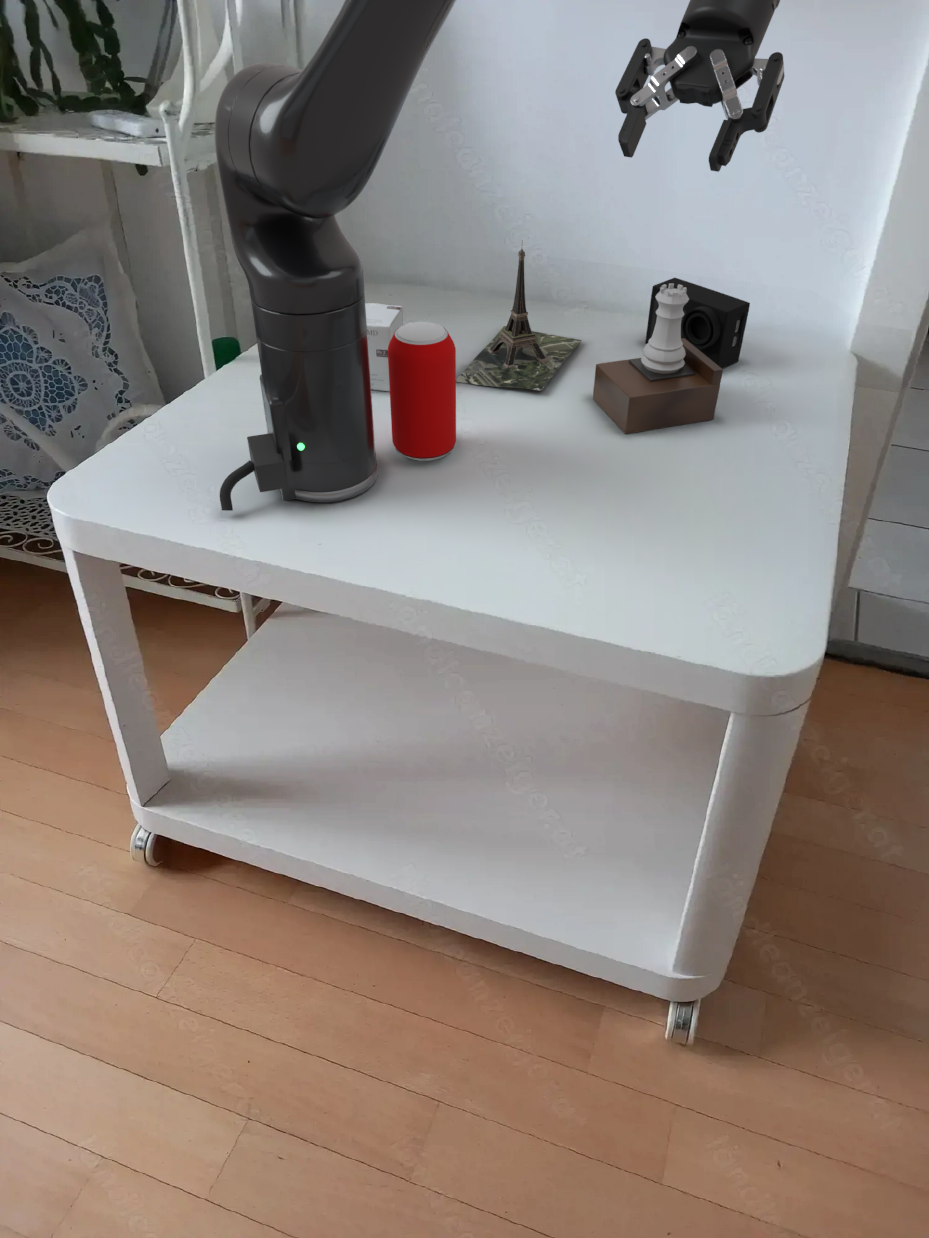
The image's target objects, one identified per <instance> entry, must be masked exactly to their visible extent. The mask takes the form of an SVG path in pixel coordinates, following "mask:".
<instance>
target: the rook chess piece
mask: <svg viewBox="0 0 929 1238" xmlns="http://www.w3.org/2000/svg"><path fill="white" fill-rule="evenodd" d="M666 287H667V285H665V284H664V285H662V287H660V292H659V293H658V294H657V295H656V296H655V297H656V300H657V302H658V303H659V308H658V309H657V310H656V314H657V320H656V325H655V328H654V332H653V335H652V337H651V338H650V339H649V341H648V342H649V343H647V344H645V345H644V347H643V348H642V354H643V355H642V357H640V358H641V361H642V364H643V365H644V367H645V368H646V369H648V370H650V371H652V372H655V373H661V374H669V373H675V372H677V371H679V370H680V369H681V368H682V367H683V366H684V364H685V362H684V359H683V358H684V357H685V355H686V354H685V349H684V347H683V346H682V345H683V343H682V341H681V320H682V317H683V316H684V312H683V306H684V305H685V304H686V303H687V302H688V301H689V298H688V296H687V294H686V291H687V289H686V287H683V285H680V284H679V285H678V287H677V289H676V288H674V284H669V287H668V288H666Z"/></svg>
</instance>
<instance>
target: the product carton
mask: <svg viewBox="0 0 929 1238" xmlns="http://www.w3.org/2000/svg"><path fill="white" fill-rule="evenodd" d="M365 308H366V323H367V338H368V353H369V367H370V382H371V390H373V391H381V392H382V391H383V392H390V387H389V367H388V345H389V342H390V340H391V338H392V337H393V335H394V333H395V331H396V330H397V329H398V328H400V327H401V326H403V325H404V306H402V305H392V304H391V305H390V304H383V303H377V302H369V303H367V302H365Z"/></svg>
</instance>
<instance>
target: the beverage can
mask: <svg viewBox="0 0 929 1238" xmlns="http://www.w3.org/2000/svg"><path fill="white" fill-rule="evenodd" d="M388 367H389V387H390V391H389V404H390V421H391V423H390V424H391V440H392V441H391V442H392V444H393V445H392V446H393V447H394V448H395V450H396V451H397V452H398V453H399V454H400V455H401V456H403V457H405V458H408V459H410V460H412V461H417V462H430V461H431V462H432V461H436V460H438V459H441V458H443V457H446V456H447V455H449V454H450V453H451V452H452V451H453V450H454V448H455V445H456V442H457V382H456V379H457V350H456V344H455V341H454V340H453V338H452V336H451V335H450V333H449V331H448V329H446V328H445V327H443V326H441V325H440V324H438V323H434V322H429V321H415V322H414V321H413V322H409V323H406V324H403V326H401V327H400V328H398V329H397V330H396V331H395V333H394V335H393V337H392V338H391V340H390V342H389V345H388Z"/></svg>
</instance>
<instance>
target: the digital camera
mask: <svg viewBox="0 0 929 1238" xmlns="http://www.w3.org/2000/svg"><path fill="white" fill-rule="evenodd" d="M664 284H665V285H667V287H666V288H668V287H669V284H674V288H676V289H677V287H678V285H679V284H680V285H683V287H686V289H687V291H686V294H687V296H688V298H689V301H688V302H687V303H686V304H685V305H684V306H683V312H684V316H683V317H682V320H681V339H682V338H685V339H686V340H687V341H689V342H690V343H691V344H692V345H693V346H695V347H696V348H697V349H698V350H700V351H701V352H702V353H703V354H705V355H706V356H707V357H708V358H709V359H711V360H712V361H713V362H714V363H716V364H717V365H718V366H719V367H720V368H722V369H723V370H724V369H725V368H727V367H730V366H731V365H733V364H736V363H738V362H739V361H740V355H741V351H742V347H743V346H742V345H743V341H744V335H745V331H746V326H747V321H748V316H749V311H750V307H751V306H750V305H751V302H749V301H747V300H746V301H745V300H743V299H740V298H737V297H734V296H732V295H729V294H725V293H724V292H719V291H717V290H714V289H711V288H709V287H705V286H702V285H699V284H697V283H694V282H689V281H687V280H685V279H684V280H683V279H682V278H681V279H680V278H677V277H672V278H670V279H667V280H664V281H662V282H658V283H656V284H654V285H652V289H651V295H650V301H649V311H648V318H647V324H646V325H647V327H646V332H645V333H646V334H645V342H644V344H645V345H646V344H647V343H649V342H648V341H649V339H650V338H651V337H652V335H653V332H654V328H655V325H656V320H657V314H656V310H657V309H658V308H659V303H658V302H657V300H656V297H655V296H656V295H657V294H658V293H659V292H660V287H662V285H664Z"/></svg>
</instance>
